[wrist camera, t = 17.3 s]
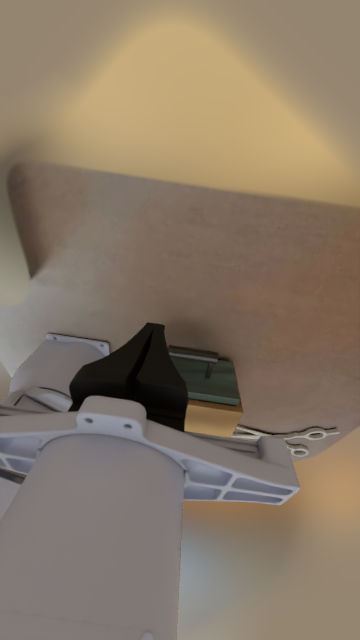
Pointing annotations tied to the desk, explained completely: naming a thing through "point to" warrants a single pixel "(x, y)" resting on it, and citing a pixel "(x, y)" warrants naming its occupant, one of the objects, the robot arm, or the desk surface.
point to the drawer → (206, 375)
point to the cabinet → (212, 417)
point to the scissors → (294, 435)
